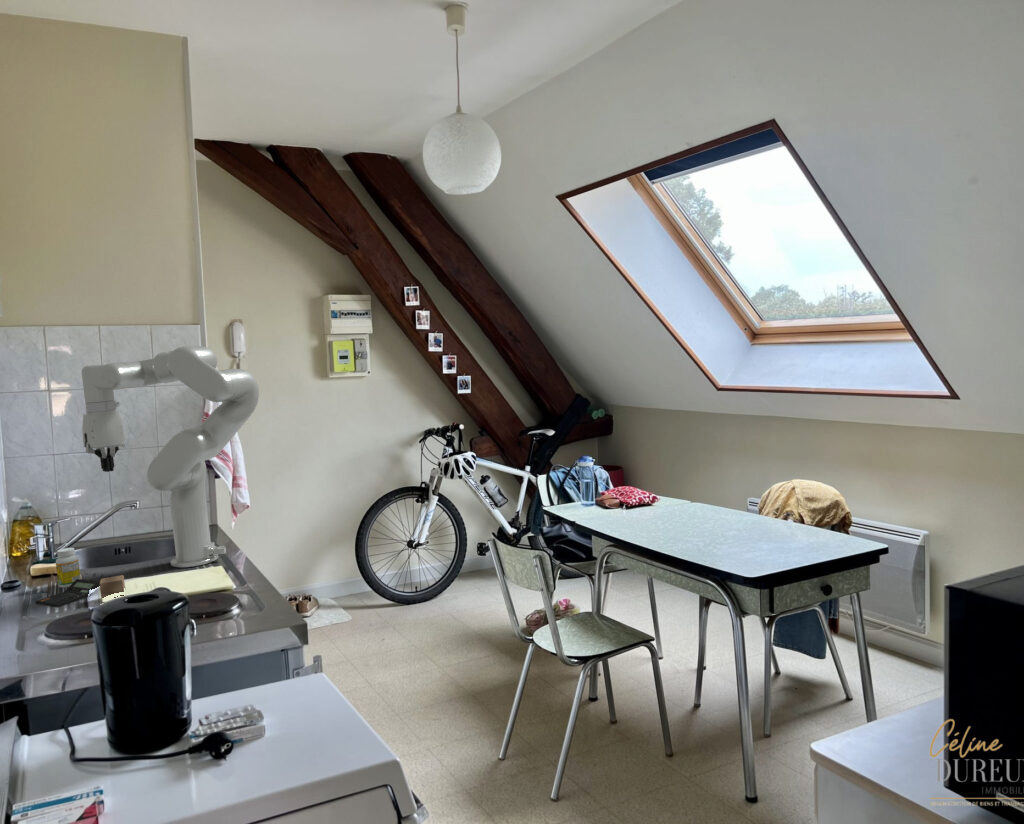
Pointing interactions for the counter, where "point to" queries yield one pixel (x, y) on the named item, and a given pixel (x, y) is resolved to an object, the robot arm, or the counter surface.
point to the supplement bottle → (67, 567)
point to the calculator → (70, 593)
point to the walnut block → (112, 585)
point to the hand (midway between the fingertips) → (108, 471)
